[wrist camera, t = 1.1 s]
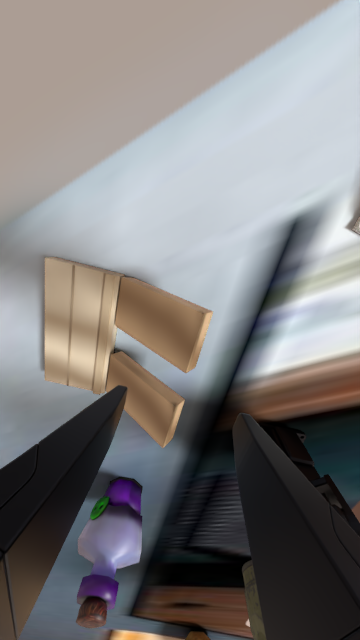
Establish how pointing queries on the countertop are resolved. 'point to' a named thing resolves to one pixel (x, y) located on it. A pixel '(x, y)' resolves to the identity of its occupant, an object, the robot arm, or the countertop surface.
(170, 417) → the inner oak plank
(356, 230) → the packaged product
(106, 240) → the countertop surface
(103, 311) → the pine floorboard strip
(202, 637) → the potato
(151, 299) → the outer oak plank
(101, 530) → the potion bottle
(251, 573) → the olive stone statue
